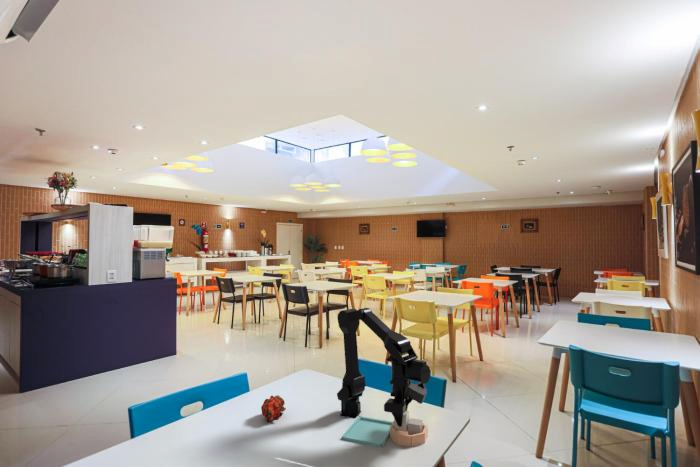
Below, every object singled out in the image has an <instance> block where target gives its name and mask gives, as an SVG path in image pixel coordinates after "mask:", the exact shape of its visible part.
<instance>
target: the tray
mask: <svg viewBox="0 0 700 467" xmlns="http://www.w3.org/2000/svg"><path fill="white" fill-rule="evenodd" d="M357 417H358V418H357ZM357 417H356V419H355V421H354V422H352V424H351V425H350V427H349V428H348V429H347V430H346V431H345V432H344V433H343V435H342V436H341V440H343V441H349V442H353V443H358V444H363V445H368V446H373V447H377V448H378V447H379V448H383V446H384V445H385V443H386V442H387V440H388V439H389V438H390V426H391V424H392V423H393V421H392V420H386V419H380V418H379V419H378V418H375V417H367V416H362V415H358V416H357Z"/></svg>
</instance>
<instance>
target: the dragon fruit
mask: <svg viewBox="0 0 700 467" xmlns="http://www.w3.org/2000/svg"><path fill="white" fill-rule="evenodd" d="M286 409H287V408H286V407H285V399H283V398H282V397H281V396H280V395H275V396H274V395H270V396H269V398H266V399H265V400H263V404H262V405H261V409H260V410H261V414H262V416H263V417H264V418H265V419H266V422H267V423H269V422H270V421H275V419H277V418H278V419H280V418H281V417H282V416H283V414H284V412H285V411H286ZM278 419H277V420H278Z"/></svg>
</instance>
